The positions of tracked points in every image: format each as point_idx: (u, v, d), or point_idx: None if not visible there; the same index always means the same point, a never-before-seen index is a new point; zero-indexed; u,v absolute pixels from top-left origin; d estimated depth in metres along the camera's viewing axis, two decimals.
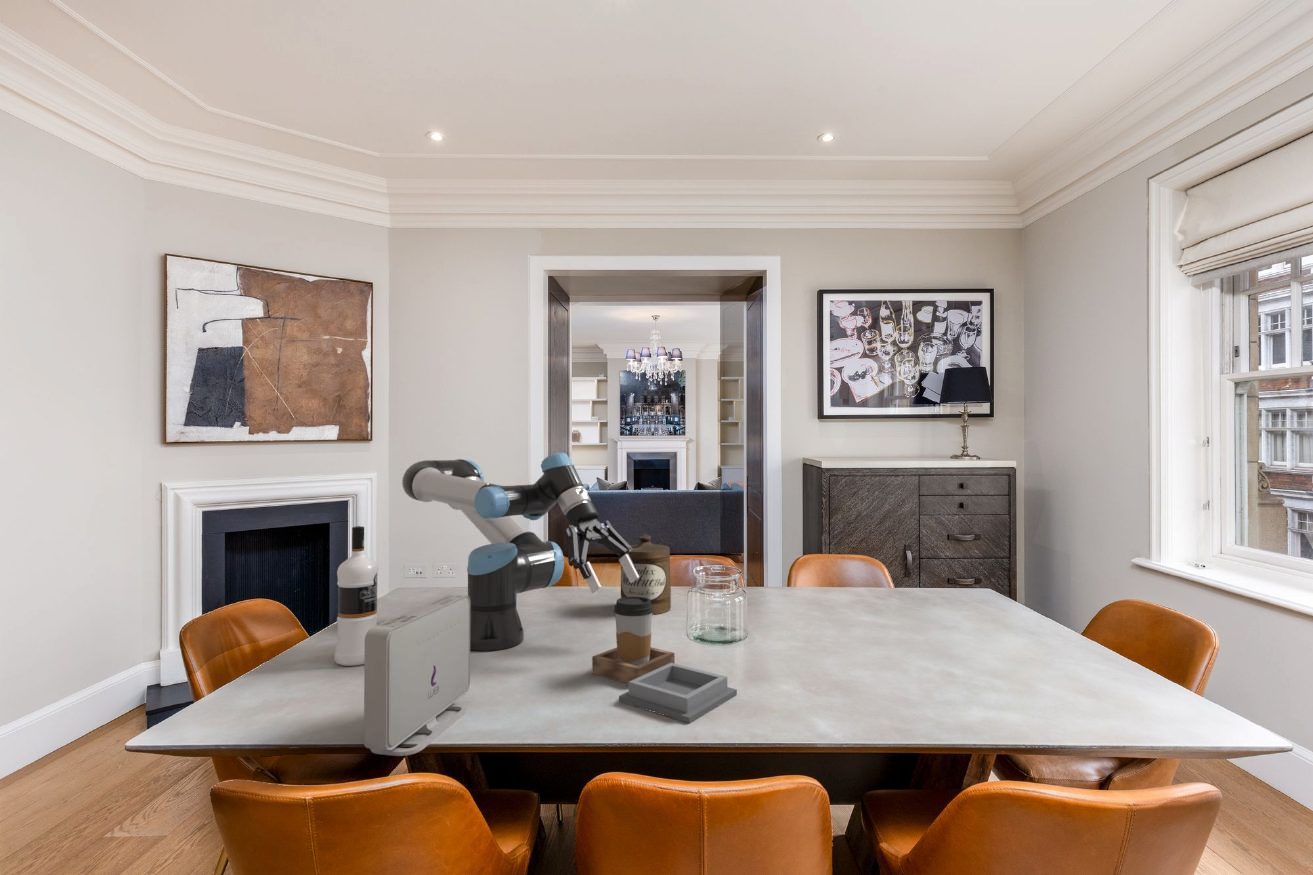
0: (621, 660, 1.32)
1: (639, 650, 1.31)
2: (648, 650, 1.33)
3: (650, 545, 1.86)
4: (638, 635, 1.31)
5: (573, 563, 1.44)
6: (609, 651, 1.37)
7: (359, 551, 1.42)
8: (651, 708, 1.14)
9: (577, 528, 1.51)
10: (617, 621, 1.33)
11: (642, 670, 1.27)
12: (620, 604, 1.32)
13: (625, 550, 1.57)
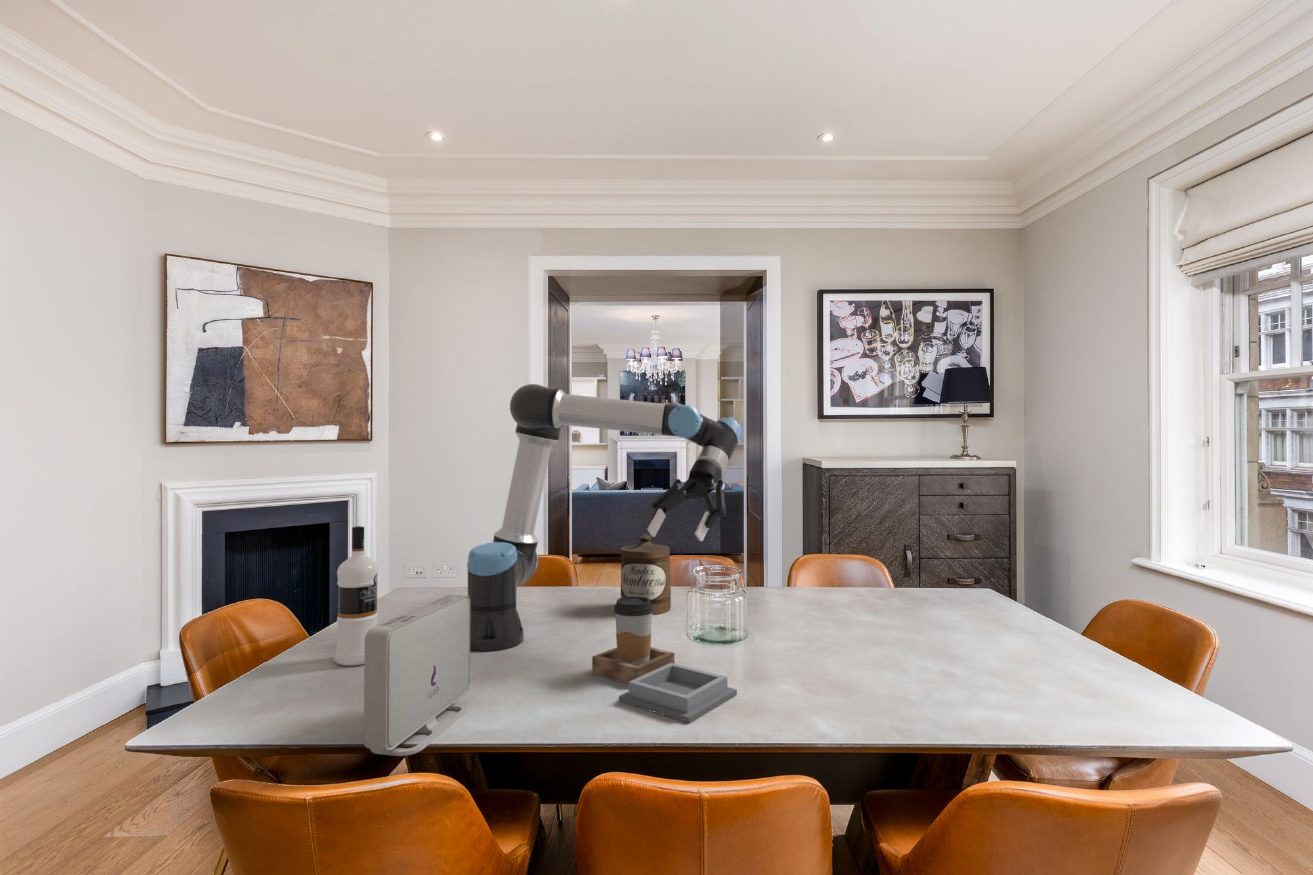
0: (621, 660, 1.32)
1: (639, 650, 1.31)
2: (648, 650, 1.33)
3: (650, 545, 1.86)
4: (638, 635, 1.31)
5: (721, 512, 1.45)
6: (609, 651, 1.37)
7: (359, 551, 1.42)
8: (651, 708, 1.14)
9: (715, 487, 1.53)
10: (617, 621, 1.33)
11: (642, 670, 1.27)
12: (620, 604, 1.32)
13: None
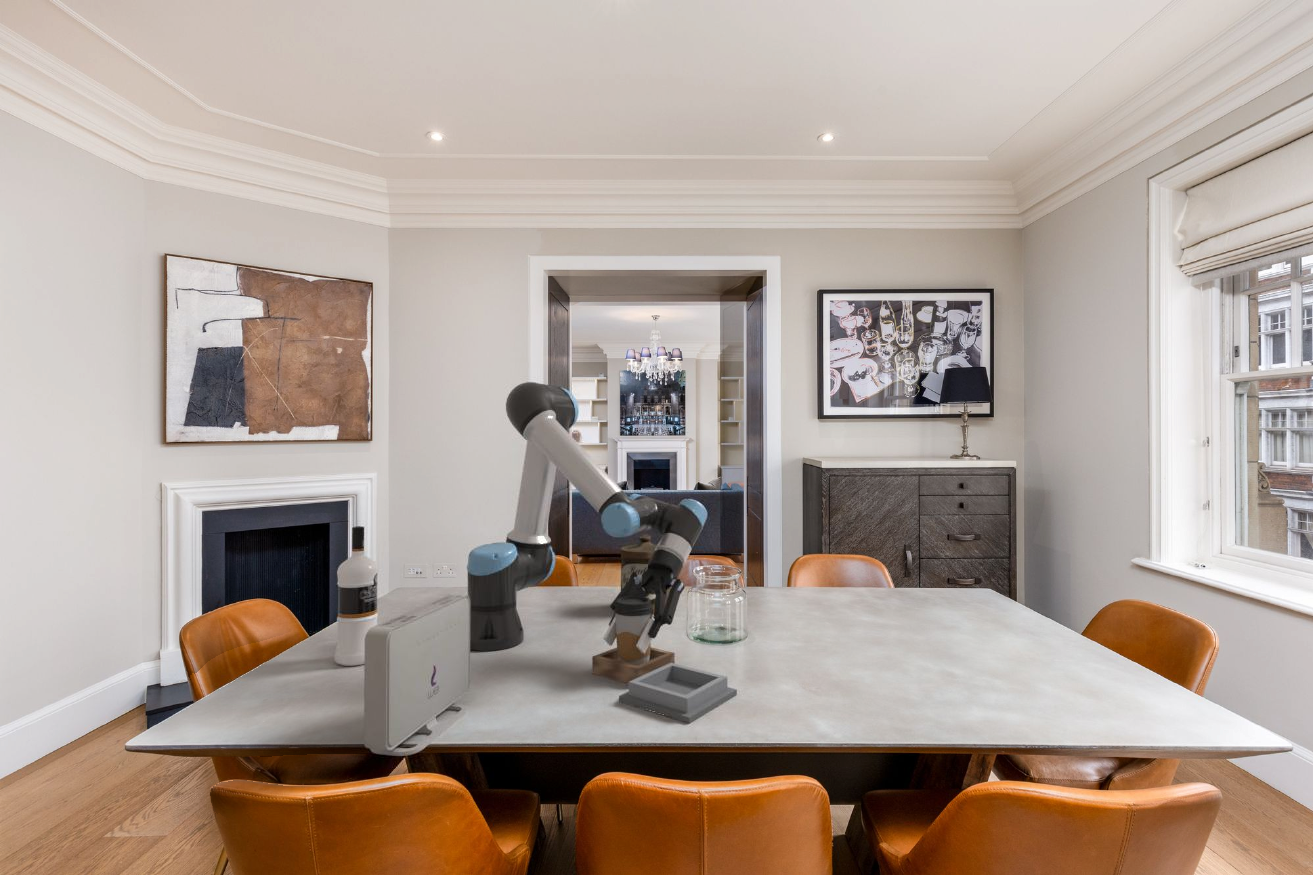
0: (621, 660, 1.32)
1: (639, 650, 1.31)
2: (648, 650, 1.33)
3: (650, 545, 1.86)
4: (638, 635, 1.31)
5: (667, 621, 1.32)
6: (609, 651, 1.37)
7: (359, 551, 1.42)
8: (651, 708, 1.14)
9: None
10: (617, 621, 1.33)
11: (642, 670, 1.27)
12: (620, 604, 1.32)
13: None
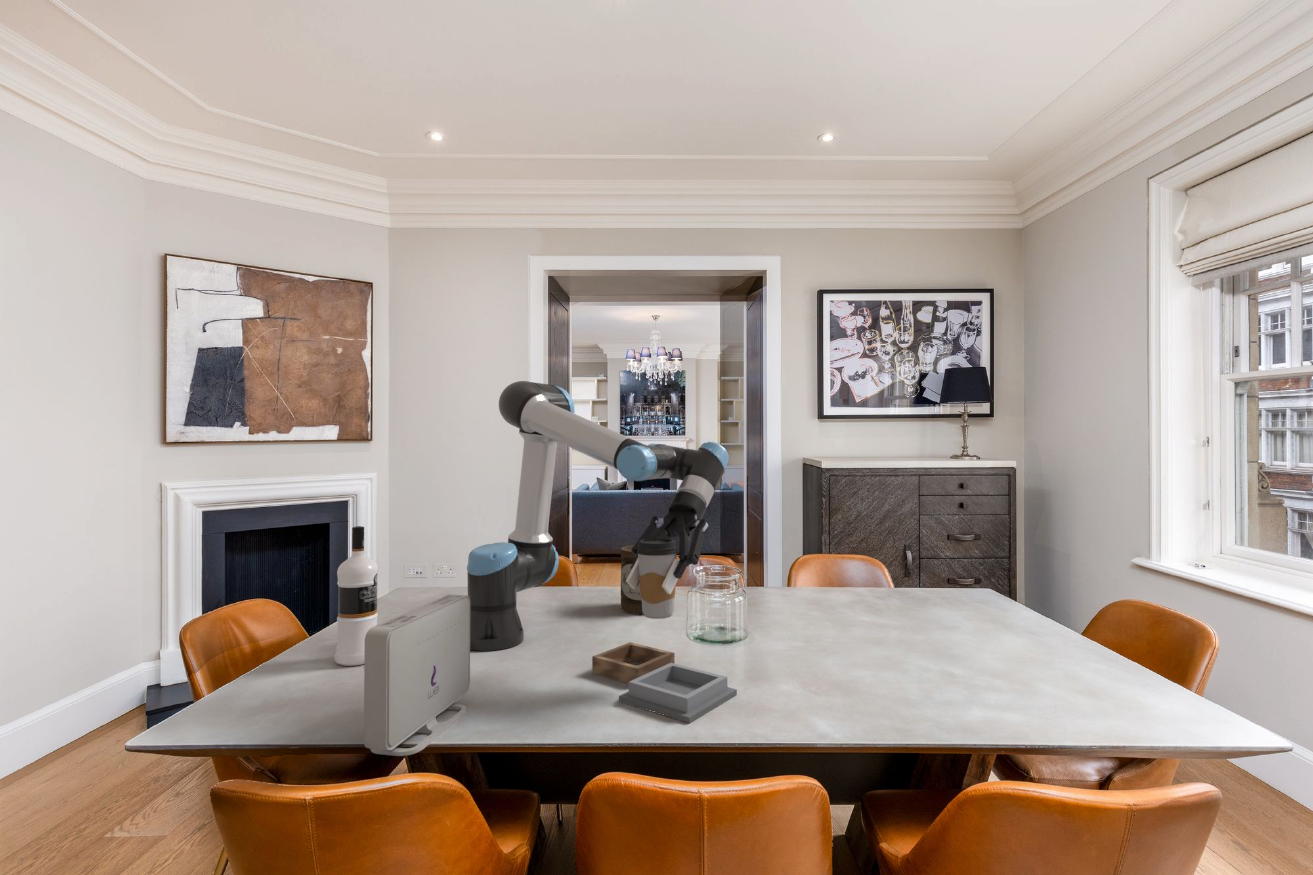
0: (645, 602, 1.26)
1: (664, 591, 1.26)
2: (673, 592, 1.27)
3: None
4: (663, 575, 1.25)
5: (693, 560, 1.26)
6: (609, 651, 1.37)
7: (359, 551, 1.42)
8: (651, 708, 1.14)
9: None
10: (640, 562, 1.27)
11: (642, 670, 1.27)
12: (643, 544, 1.26)
13: None
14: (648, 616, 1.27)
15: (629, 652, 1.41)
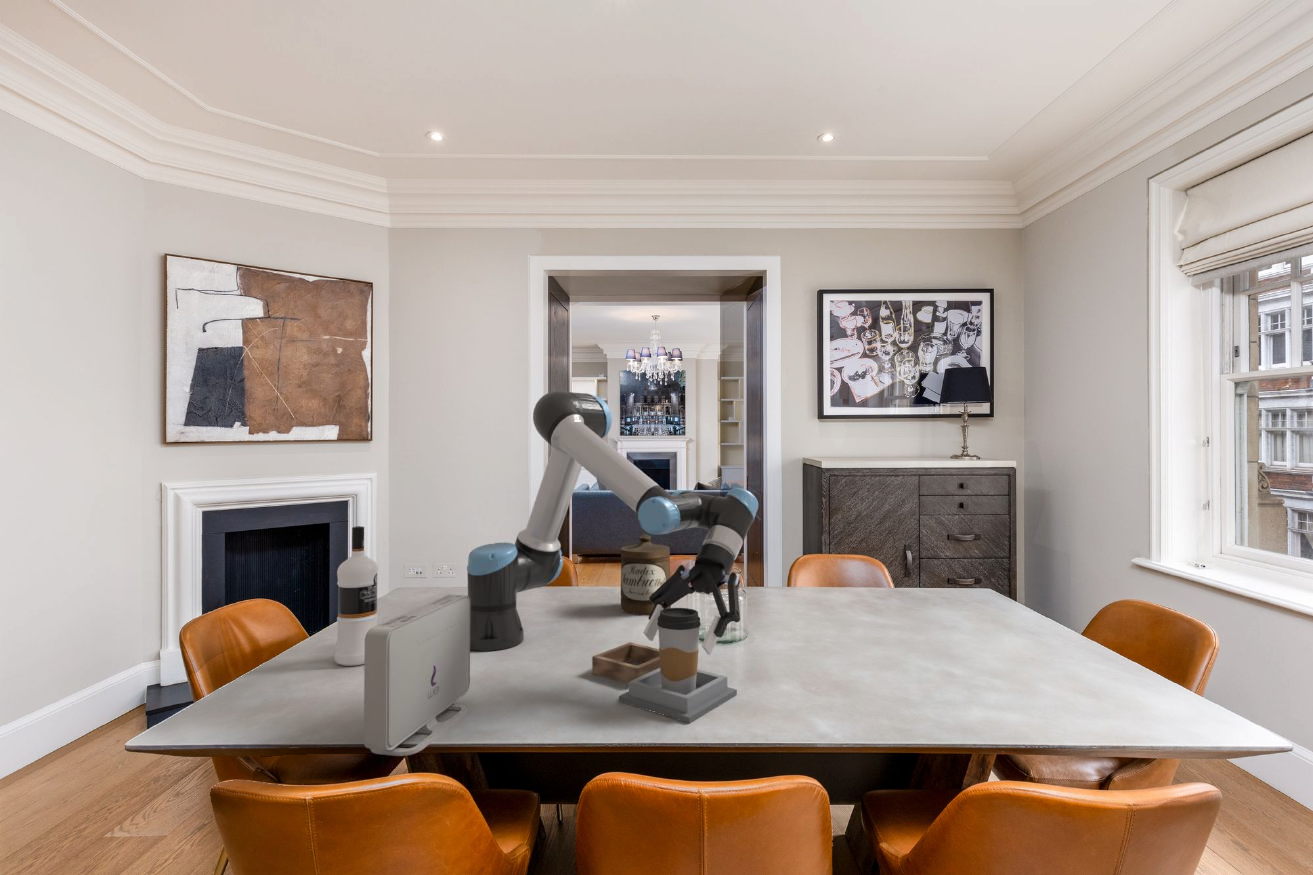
0: (665, 679, 1.18)
1: (686, 668, 1.17)
2: (695, 668, 1.19)
3: (650, 545, 1.86)
4: (685, 651, 1.17)
5: (735, 618, 1.17)
6: (609, 651, 1.37)
7: (359, 551, 1.42)
8: (651, 708, 1.14)
9: None
10: (661, 635, 1.19)
11: (642, 670, 1.27)
12: (665, 616, 1.18)
13: None
14: None
15: (629, 652, 1.41)
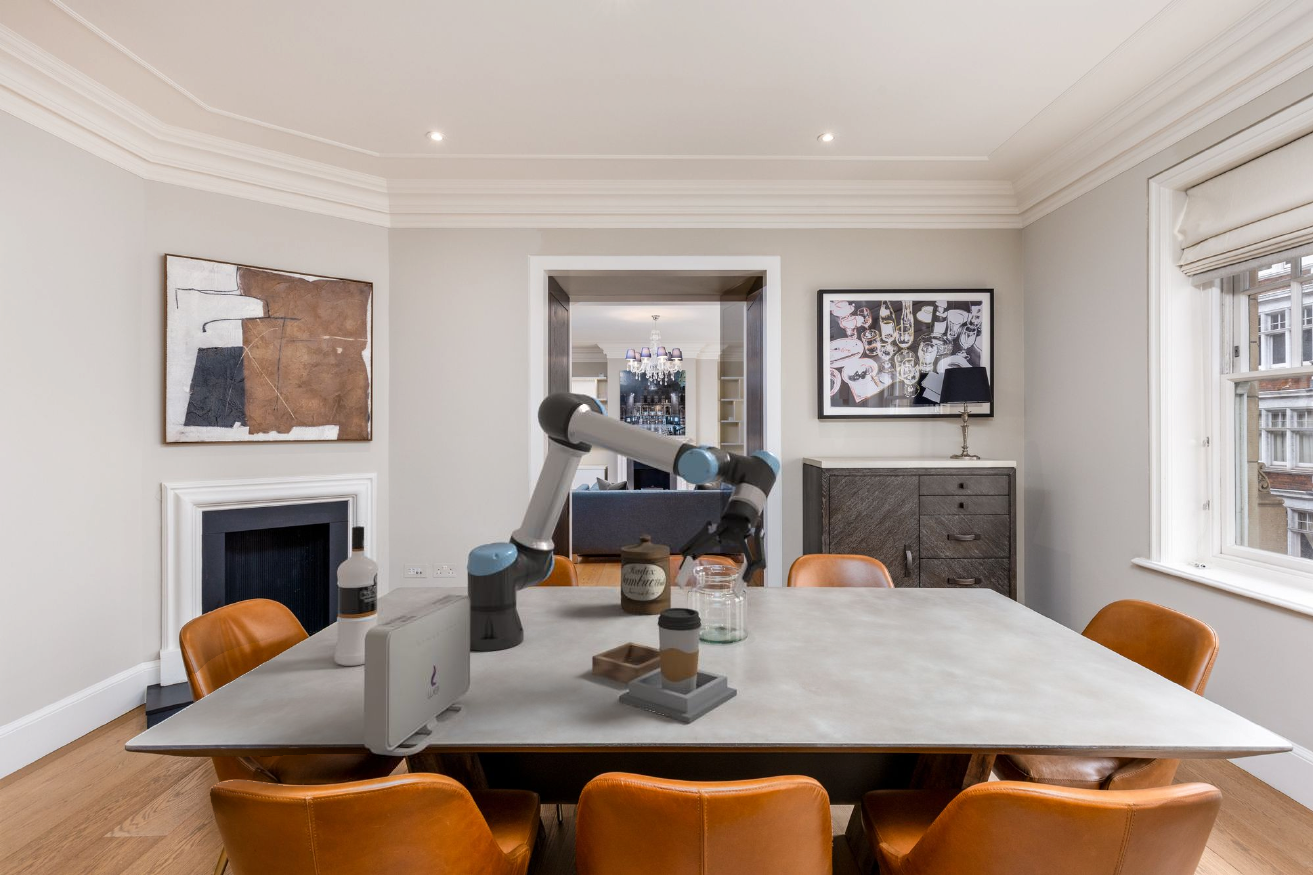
0: (666, 680, 1.18)
1: (686, 668, 1.17)
2: (696, 669, 1.19)
3: (650, 545, 1.86)
4: (685, 652, 1.17)
5: (762, 565, 1.26)
6: (609, 651, 1.37)
7: (359, 551, 1.42)
8: (651, 708, 1.14)
9: None
10: (661, 636, 1.19)
11: (642, 670, 1.27)
12: (665, 617, 1.18)
13: None
14: None
15: (629, 652, 1.41)
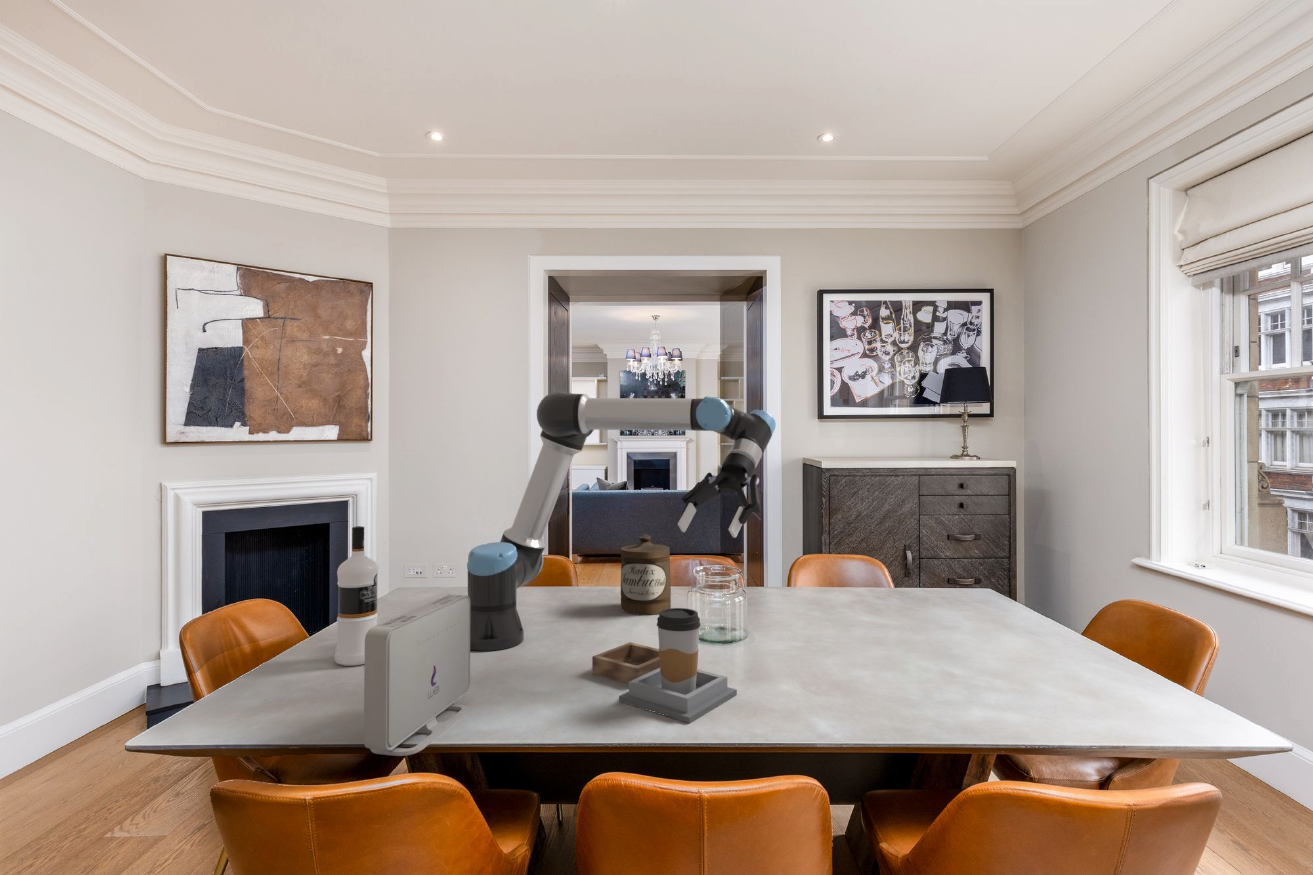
0: (665, 680, 1.18)
1: (686, 669, 1.17)
2: (695, 669, 1.19)
3: (650, 545, 1.86)
4: (685, 652, 1.17)
5: (756, 508, 1.39)
6: (609, 651, 1.37)
7: (359, 551, 1.42)
8: (651, 708, 1.14)
9: (748, 481, 1.47)
10: (661, 636, 1.18)
11: (642, 670, 1.27)
12: (664, 617, 1.18)
13: None
14: None
15: (629, 652, 1.41)
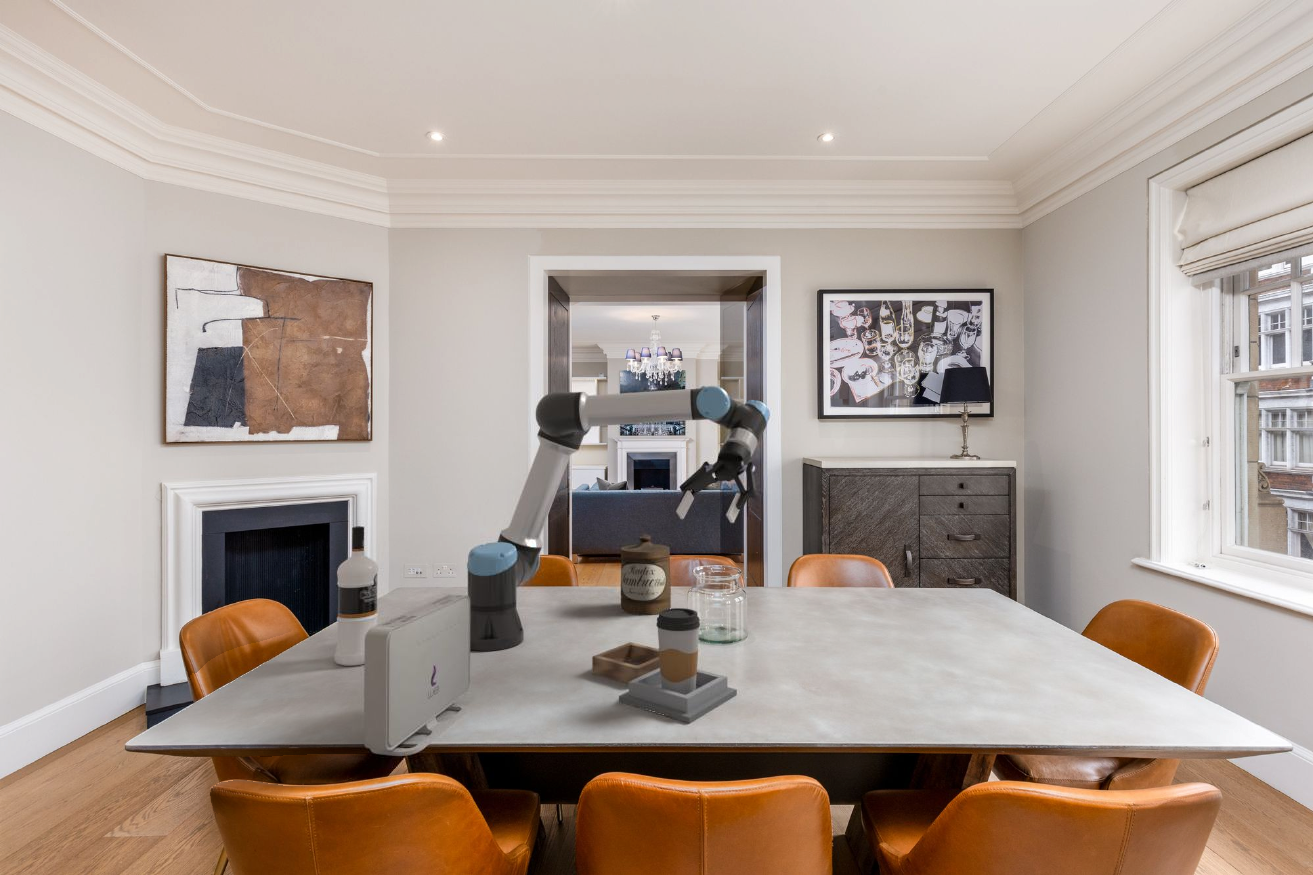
0: (665, 680, 1.18)
1: (686, 669, 1.17)
2: (695, 669, 1.19)
3: (650, 545, 1.86)
4: (685, 652, 1.17)
5: (753, 494, 1.42)
6: (609, 651, 1.37)
7: (359, 551, 1.42)
8: (651, 708, 1.14)
9: (745, 469, 1.51)
10: (660, 636, 1.18)
11: (642, 670, 1.27)
12: (664, 617, 1.18)
13: None
14: None
15: (629, 652, 1.41)
